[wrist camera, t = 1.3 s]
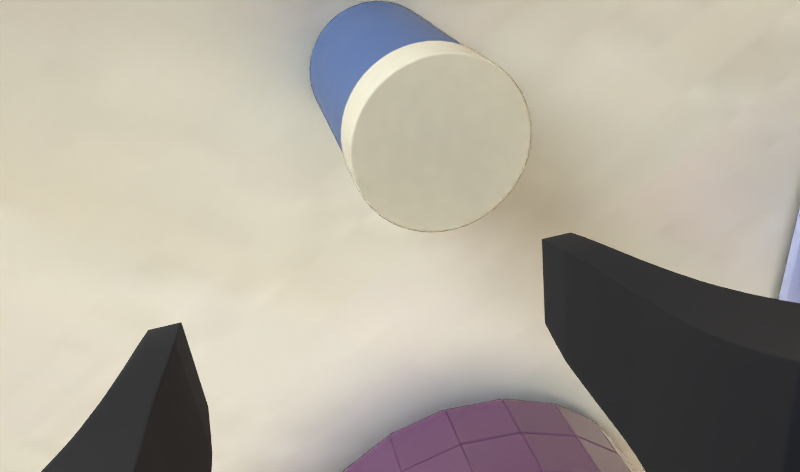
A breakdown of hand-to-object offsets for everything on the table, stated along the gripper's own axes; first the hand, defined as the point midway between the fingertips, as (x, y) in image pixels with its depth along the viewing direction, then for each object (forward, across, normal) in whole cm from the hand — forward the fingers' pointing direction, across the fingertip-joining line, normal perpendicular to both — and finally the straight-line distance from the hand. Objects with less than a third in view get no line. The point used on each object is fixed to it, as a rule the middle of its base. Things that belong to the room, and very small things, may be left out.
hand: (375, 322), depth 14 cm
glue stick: (+10, -2, -2) cm, 10 cm away
